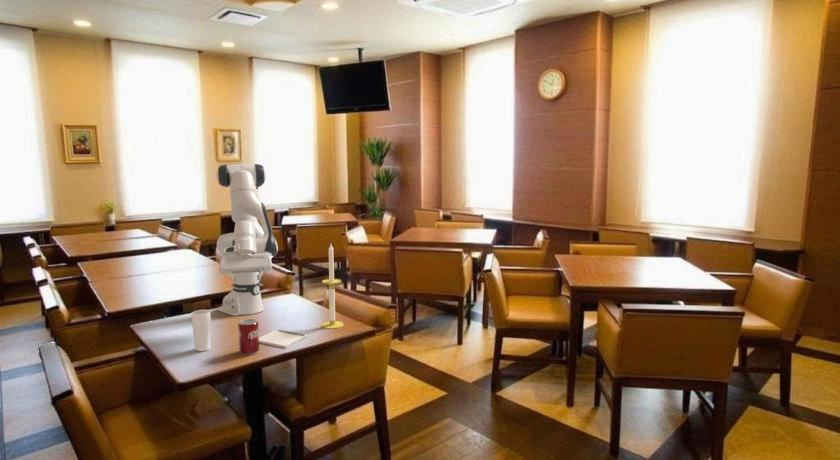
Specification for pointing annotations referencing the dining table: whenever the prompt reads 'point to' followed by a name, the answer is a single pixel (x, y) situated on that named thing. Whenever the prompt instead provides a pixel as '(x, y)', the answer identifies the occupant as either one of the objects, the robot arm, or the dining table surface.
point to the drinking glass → (201, 329)
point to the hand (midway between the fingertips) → (246, 280)
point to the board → (282, 338)
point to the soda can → (248, 336)
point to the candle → (331, 294)
